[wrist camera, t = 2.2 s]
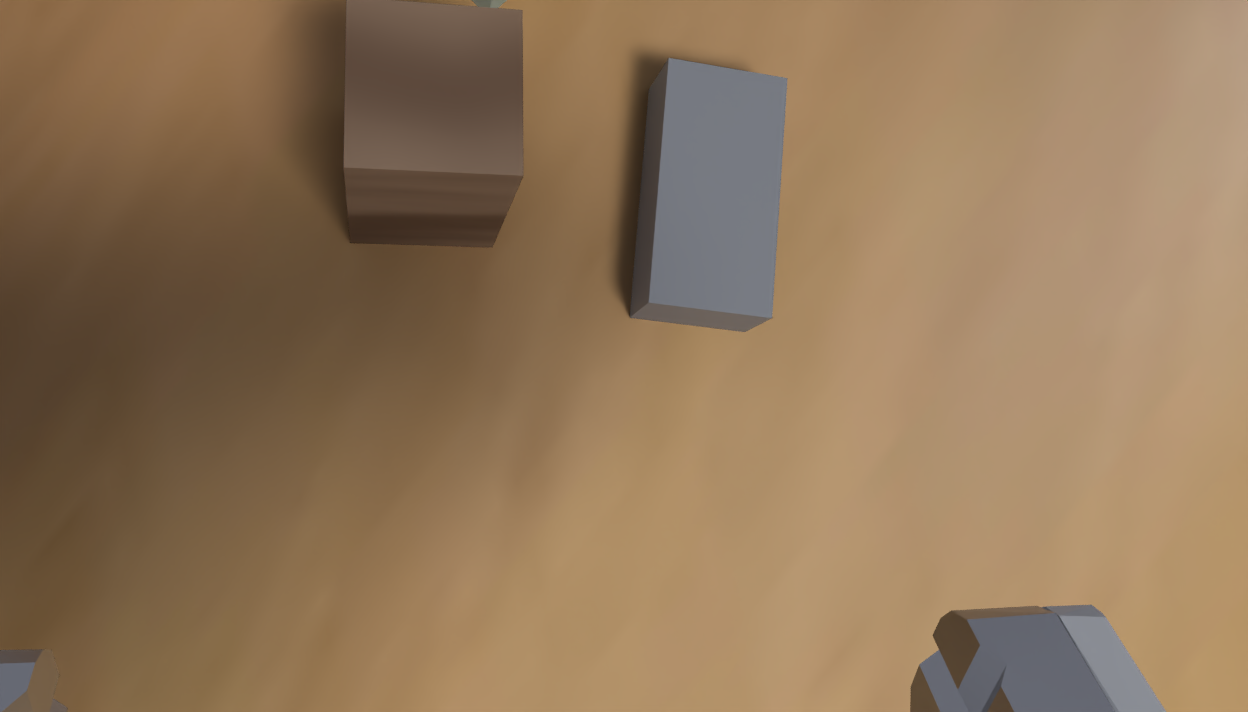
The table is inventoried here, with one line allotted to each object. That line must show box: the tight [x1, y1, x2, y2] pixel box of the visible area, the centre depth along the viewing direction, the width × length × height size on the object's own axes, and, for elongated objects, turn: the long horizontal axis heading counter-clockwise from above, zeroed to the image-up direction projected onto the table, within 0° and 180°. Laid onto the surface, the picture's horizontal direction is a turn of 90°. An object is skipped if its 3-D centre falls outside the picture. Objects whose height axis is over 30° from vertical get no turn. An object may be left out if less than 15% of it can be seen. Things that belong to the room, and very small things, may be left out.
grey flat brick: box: [630, 58, 787, 332], centre depth 38 cm, size 8×4×3 cm, turn 175°
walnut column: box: [344, 0, 523, 247], centre depth 33 cm, size 4×4×8 cm
